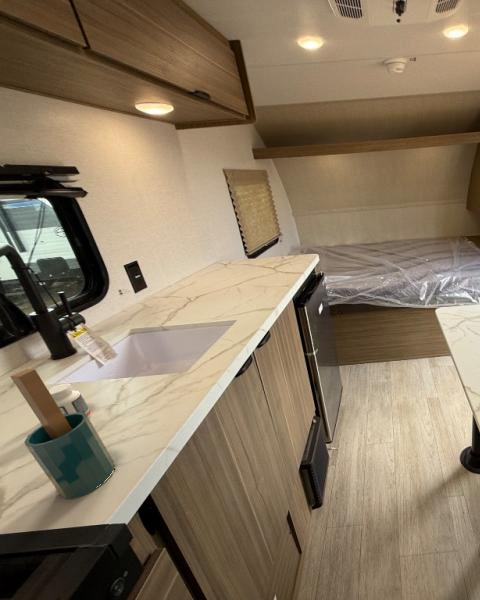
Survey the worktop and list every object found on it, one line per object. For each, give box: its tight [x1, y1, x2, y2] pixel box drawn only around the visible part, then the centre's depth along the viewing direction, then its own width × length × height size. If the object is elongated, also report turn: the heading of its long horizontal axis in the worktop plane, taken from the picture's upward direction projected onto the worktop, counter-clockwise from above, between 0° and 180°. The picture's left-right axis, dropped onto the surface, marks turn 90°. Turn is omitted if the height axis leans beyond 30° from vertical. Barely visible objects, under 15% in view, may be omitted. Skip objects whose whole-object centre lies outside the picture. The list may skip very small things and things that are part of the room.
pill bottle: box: [48, 382, 92, 419], centre depth 71 cm, size 5×5×9 cm
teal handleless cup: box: [24, 412, 116, 500], centre depth 55 cm, size 7×7×12 cm
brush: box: [10, 368, 72, 440], centre depth 53 cm, size 4×4×22 cm
